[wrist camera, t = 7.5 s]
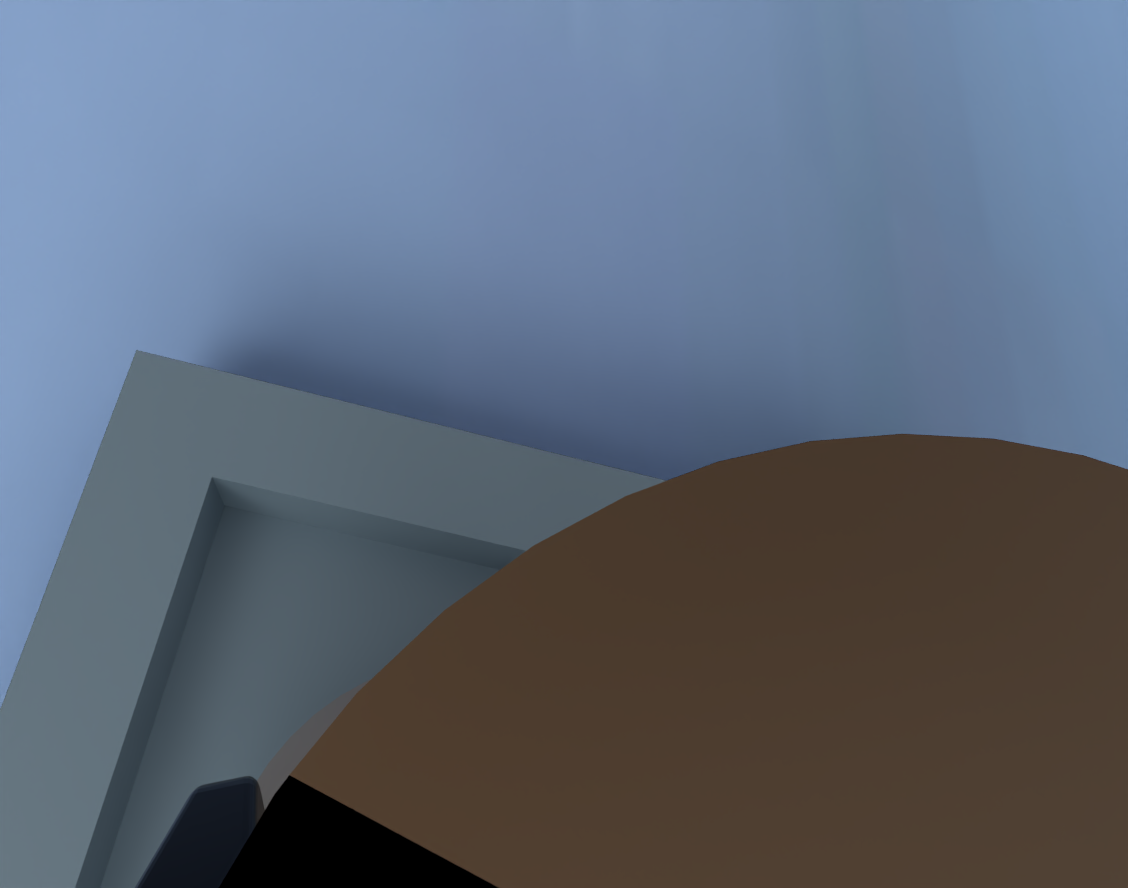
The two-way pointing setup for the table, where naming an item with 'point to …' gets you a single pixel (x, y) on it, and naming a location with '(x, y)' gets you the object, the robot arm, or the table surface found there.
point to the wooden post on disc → (751, 692)
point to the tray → (241, 596)
